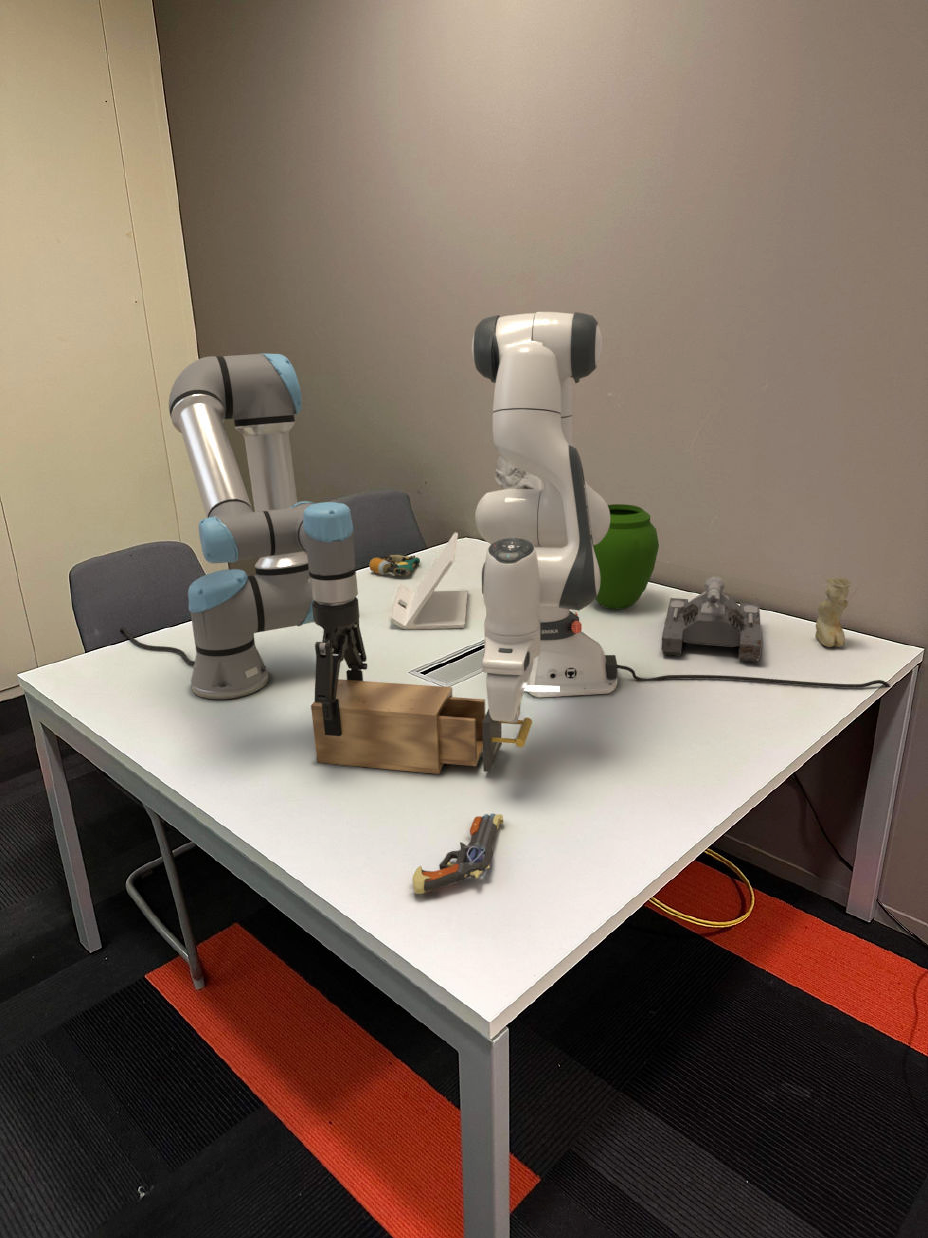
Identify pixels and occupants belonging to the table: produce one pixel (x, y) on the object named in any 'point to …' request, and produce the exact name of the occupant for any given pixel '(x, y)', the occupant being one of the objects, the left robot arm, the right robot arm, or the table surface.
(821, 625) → the sculpture
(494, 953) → the table surface
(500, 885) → the table surface
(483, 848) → the toy gun
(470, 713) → the drawer
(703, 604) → the toy
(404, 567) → the spray gun
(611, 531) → the vase
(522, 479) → the bust sculpture
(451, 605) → the tablet stand
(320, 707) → the cabinet
